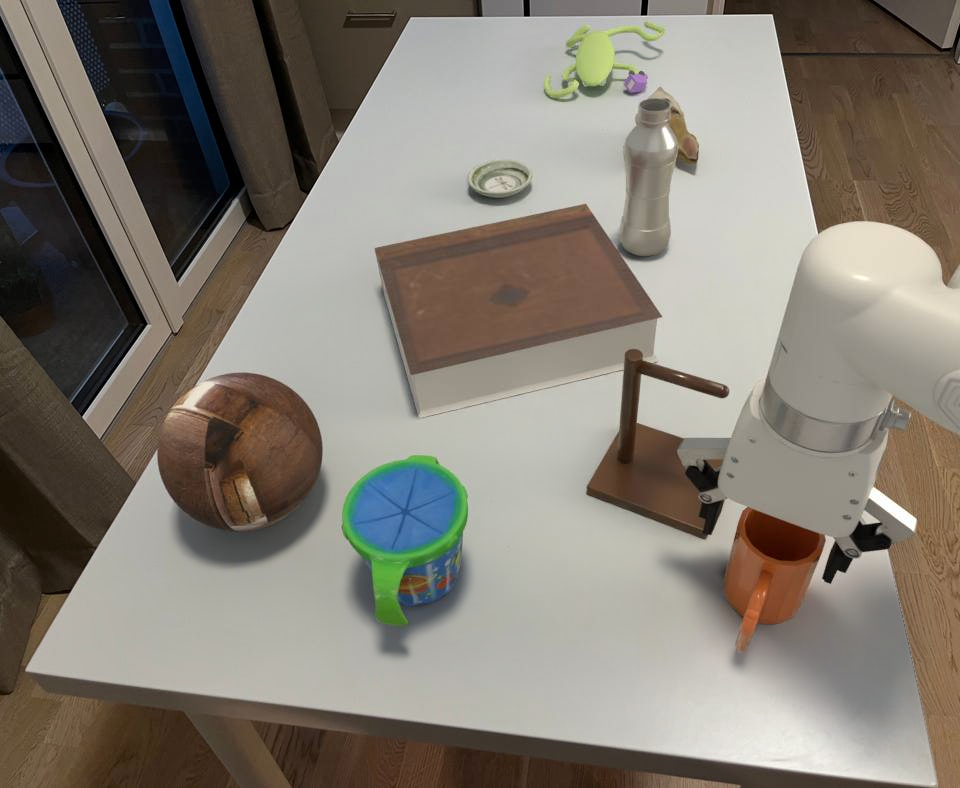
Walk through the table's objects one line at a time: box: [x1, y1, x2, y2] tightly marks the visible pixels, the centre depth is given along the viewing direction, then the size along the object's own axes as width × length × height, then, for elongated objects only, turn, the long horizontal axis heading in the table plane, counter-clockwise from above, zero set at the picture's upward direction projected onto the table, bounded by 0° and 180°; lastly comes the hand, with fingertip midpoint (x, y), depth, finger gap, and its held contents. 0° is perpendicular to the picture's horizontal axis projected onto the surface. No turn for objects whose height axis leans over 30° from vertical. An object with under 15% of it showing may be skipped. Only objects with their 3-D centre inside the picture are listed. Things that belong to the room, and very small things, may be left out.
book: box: [374, 203, 663, 419], centre depth 95 cm, size 24×28×6 cm
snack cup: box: [341, 454, 469, 627], centre depth 70 cm, size 16×10×10 cm
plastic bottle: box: [618, 98, 679, 257], centre depth 99 cm, size 6×7×20 cm
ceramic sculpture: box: [634, 86, 700, 165], centre depth 121 cm, size 11×9×15 cm
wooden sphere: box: [156, 372, 324, 532], centre depth 76 cm, size 15×15×15 cm
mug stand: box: [586, 349, 730, 539], centre depth 73 cm, size 12×10×15 cm
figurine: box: [543, 20, 667, 99], centre depth 144 cm, size 18×27×6 cm
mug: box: [722, 506, 827, 653], centre depth 65 cm, size 11×6×9 cm, turn 150°
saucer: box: [467, 158, 533, 199], centre depth 119 cm, size 10×10×2 cm
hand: (769, 544), depth 65 cm, fingers open, 9 cm apart
